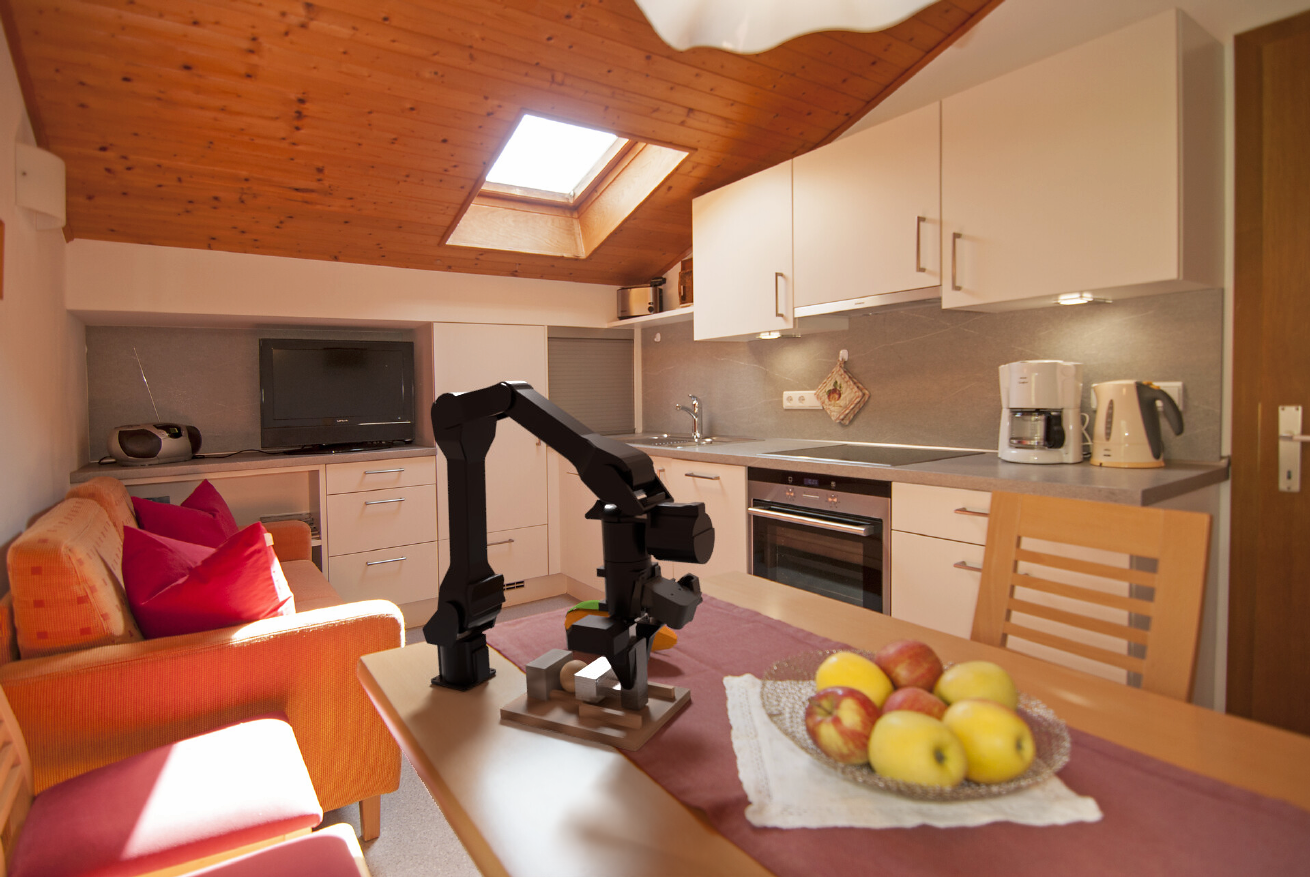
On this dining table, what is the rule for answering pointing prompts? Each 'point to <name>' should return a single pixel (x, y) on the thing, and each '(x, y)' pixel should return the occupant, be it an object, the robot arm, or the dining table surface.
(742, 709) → the dining table surface
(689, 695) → the base
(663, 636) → the corn
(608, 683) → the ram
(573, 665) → the tan wooden ball
